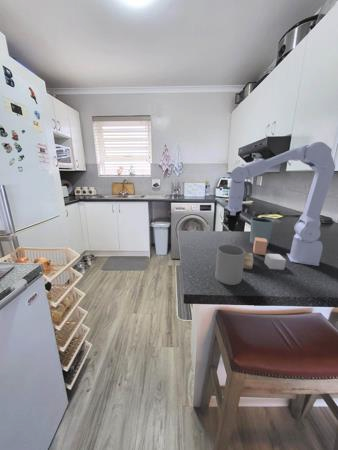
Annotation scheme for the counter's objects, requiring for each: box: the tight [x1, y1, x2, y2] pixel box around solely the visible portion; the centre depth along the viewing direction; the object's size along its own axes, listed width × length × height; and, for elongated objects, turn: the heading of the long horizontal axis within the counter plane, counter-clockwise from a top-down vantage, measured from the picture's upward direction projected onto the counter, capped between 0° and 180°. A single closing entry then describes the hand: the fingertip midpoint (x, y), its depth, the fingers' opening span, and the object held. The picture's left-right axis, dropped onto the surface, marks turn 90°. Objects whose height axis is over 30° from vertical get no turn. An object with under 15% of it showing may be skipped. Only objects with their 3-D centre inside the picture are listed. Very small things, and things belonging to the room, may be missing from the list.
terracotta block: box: [252, 237, 268, 256], centre depth 83 cm, size 4×4×6 cm
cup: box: [214, 244, 246, 286], centre depth 61 cm, size 8×8×10 cm
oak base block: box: [243, 251, 254, 270], centre depth 72 cm, size 6×6×4 cm
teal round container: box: [249, 217, 275, 246], centre depth 94 cm, size 10×10×12 cm
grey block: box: [263, 253, 287, 271], centre depth 71 cm, size 5×5×4 cm
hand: (232, 228), depth 83 cm, fingers open, 7 cm apart
